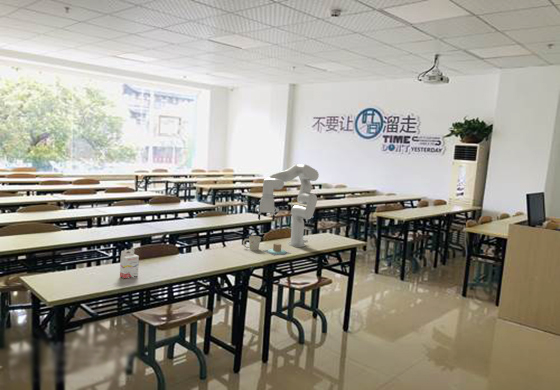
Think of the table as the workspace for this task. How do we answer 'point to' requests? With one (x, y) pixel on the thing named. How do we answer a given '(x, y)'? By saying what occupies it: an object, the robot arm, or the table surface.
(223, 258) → the table surface
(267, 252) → the mat
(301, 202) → the robot arm
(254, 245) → the mug
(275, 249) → the lid
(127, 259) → the ink cartridge box
